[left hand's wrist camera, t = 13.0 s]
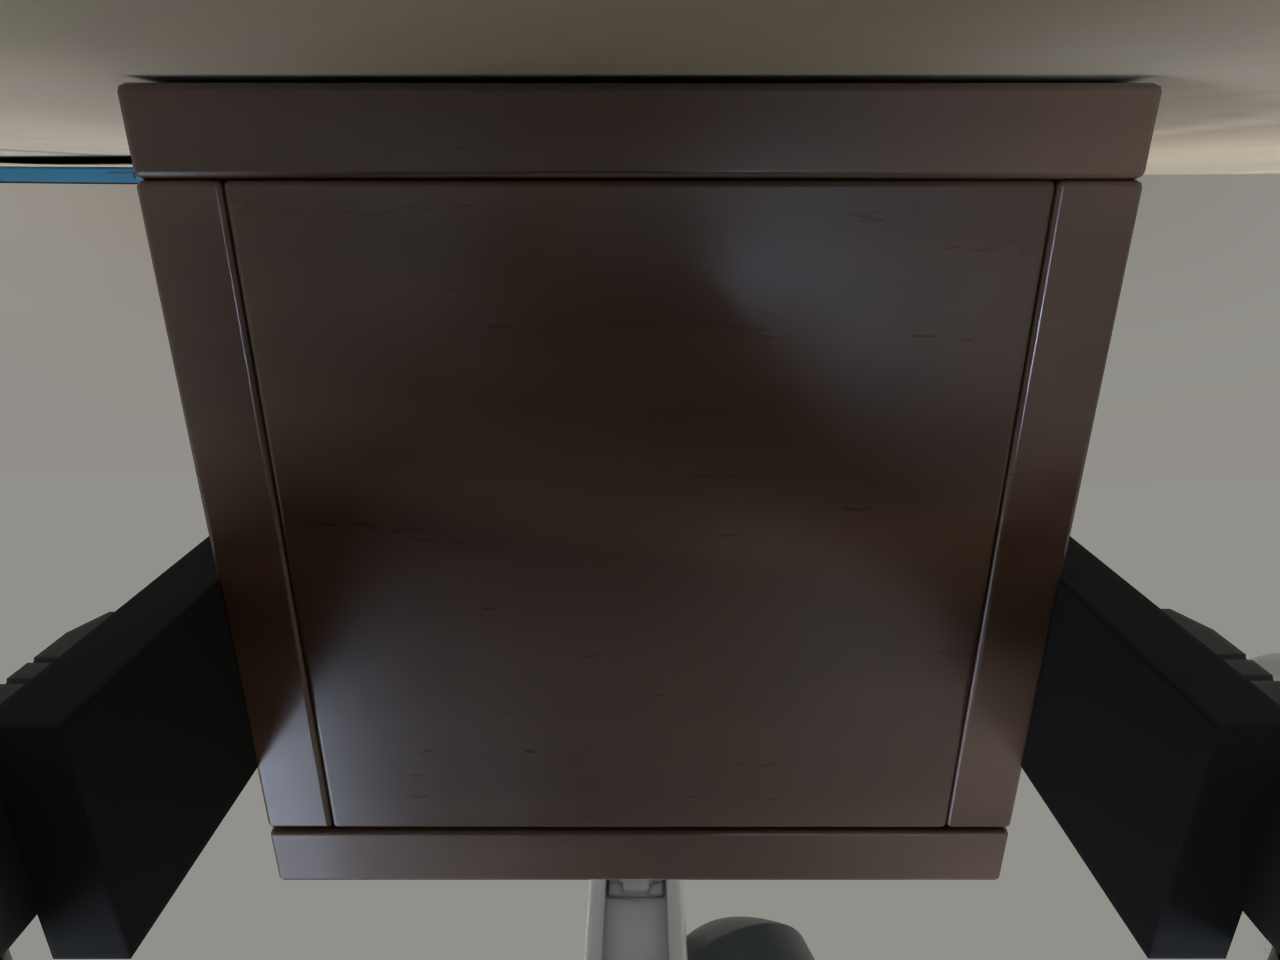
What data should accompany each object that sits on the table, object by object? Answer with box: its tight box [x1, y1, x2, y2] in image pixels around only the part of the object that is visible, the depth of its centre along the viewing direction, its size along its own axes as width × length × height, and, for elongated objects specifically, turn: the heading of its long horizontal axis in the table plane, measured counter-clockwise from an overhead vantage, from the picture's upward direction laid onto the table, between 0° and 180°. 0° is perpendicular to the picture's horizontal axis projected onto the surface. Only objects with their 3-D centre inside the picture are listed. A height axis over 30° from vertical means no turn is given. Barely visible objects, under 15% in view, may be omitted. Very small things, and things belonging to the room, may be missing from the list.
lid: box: [271, 823, 1008, 880], centre depth 18 cm, size 14×10×8 cm
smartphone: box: [0, 167, 145, 184], centre depth 28 cm, size 8×1×15 cm
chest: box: [118, 83, 1161, 827], centre depth 15 cm, size 13×10×9 cm
